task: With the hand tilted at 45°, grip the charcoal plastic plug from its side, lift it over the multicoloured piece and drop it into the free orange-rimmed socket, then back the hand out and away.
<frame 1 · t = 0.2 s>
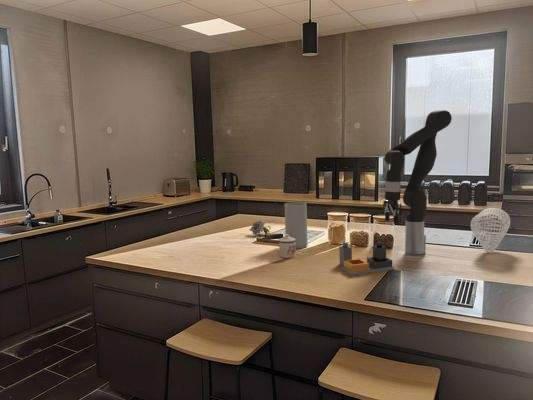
hand: (391, 222, 214), 18 cm above the worktop, tool pointing down, fingers open, 8 cm apart
multicoloured piece: (368, 269, 196), on the worktop
cylinder vase: (296, 246, 244), on the worktop
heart: (489, 253, 215), on the worktop
teacup with lid: (289, 255, 226), on the worktop
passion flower: (260, 235, 277), on the worktop
plug: (345, 264, 205), on the worktop
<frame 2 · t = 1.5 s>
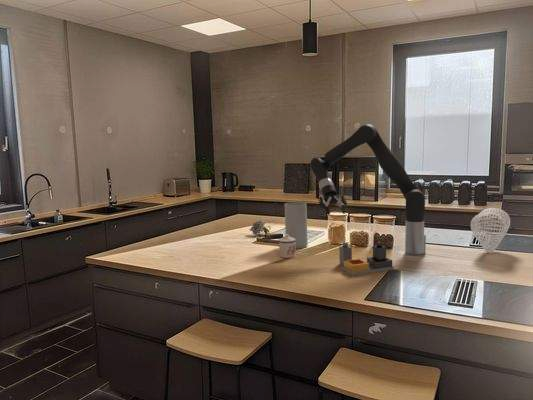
hand: (336, 213, 215), 23 cm above the worktop, tool tilted 45°, fingers open, 8 cm apart
nothing on the worktop moved.
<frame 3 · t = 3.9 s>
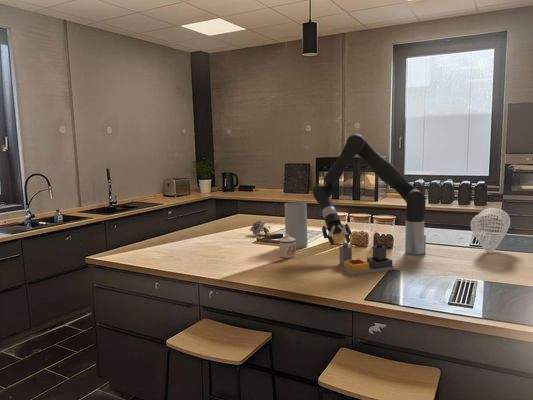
hand: (340, 243, 209), 10 cm above the worktop, tool tilted 45°, fingers open, 8 cm apart
nothing on the worktop moved.
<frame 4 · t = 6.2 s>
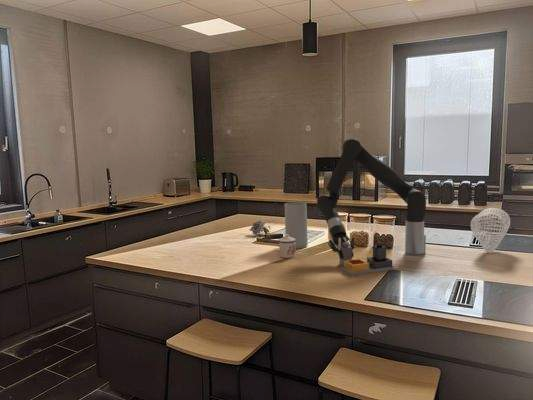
hand: (347, 257, 203), 4 cm above the worktop, tool tilted 45°, fingers closed on plug, 4 cm apart
plug: (345, 264, 205), on the worktop, touching gripper
everything else where it was.
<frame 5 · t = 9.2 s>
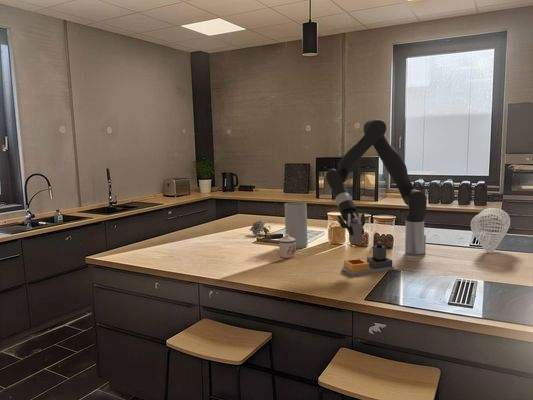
hand: (357, 234, 191), 18 cm above the worktop, tool tilted 45°, fingers closed on plug, 4 cm apart
plug: (355, 242, 193), point 14 cm above the worktop, touching gripper
everything else where it was.
when the fingers open (7 cm above the worktop, at t = 12.2 s): plug drops 1 cm, resting on multicoloured piece.
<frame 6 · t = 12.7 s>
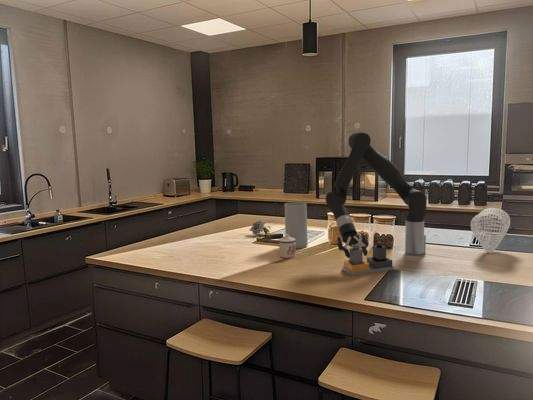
hand: (357, 256, 192), 8 cm above the worktop, tool tilted 45°, fingers open, 8 cm apart
plug: (356, 268, 195), point 1 cm above the worktop, touching multicoloured piece
everything else where it was.
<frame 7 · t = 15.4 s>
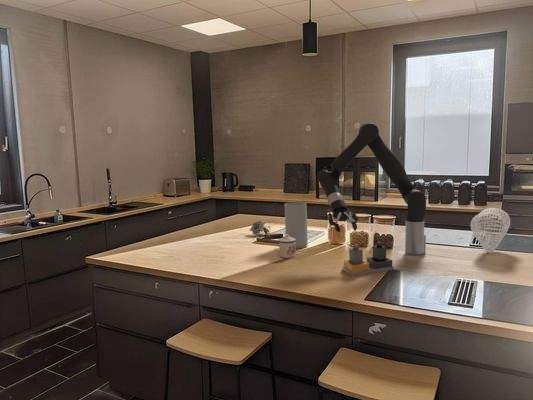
hand: (347, 230, 200), 18 cm above the worktop, tool tilted 45°, fingers open, 8 cm apart
nothing on the worktop moved.
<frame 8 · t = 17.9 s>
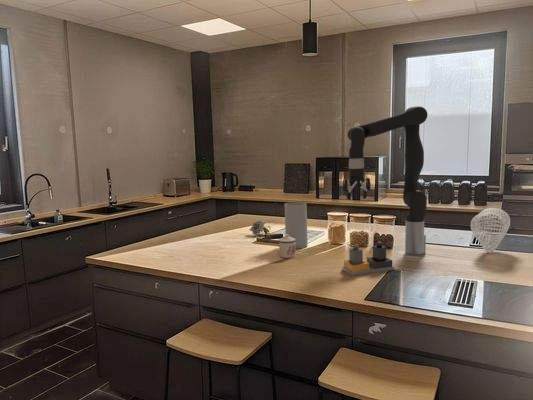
hand: (356, 199, 215), 30 cm above the worktop, tool pointing down, fingers open, 8 cm apart
nothing on the worktop moved.
at the end: plug 0.1 cm from the target spot on the multicoloured piece, point 1.5 cm above the multicoloured piece's base; plug tilted 0°; the gripper is holding nothing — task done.
